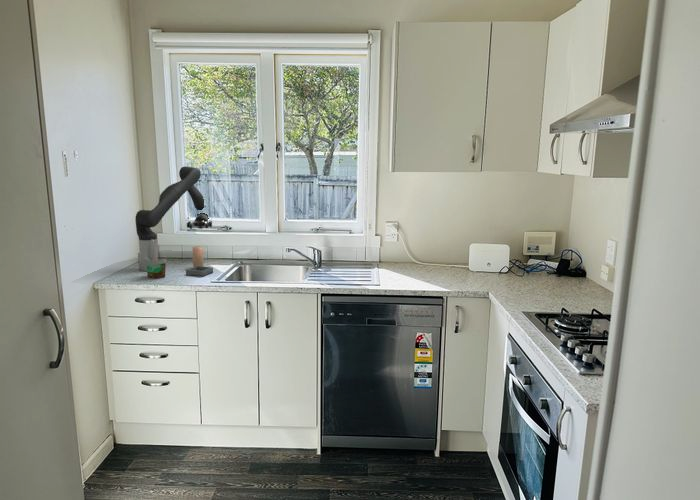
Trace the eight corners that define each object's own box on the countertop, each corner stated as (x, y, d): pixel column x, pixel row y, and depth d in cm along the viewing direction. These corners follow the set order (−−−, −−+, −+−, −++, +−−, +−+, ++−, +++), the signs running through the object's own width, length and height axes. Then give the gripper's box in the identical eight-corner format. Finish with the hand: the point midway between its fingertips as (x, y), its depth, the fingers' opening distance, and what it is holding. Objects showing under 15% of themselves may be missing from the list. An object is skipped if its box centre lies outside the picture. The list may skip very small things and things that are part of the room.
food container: (139, 277, 246) (138, 259, 244) (147, 275, 252) (146, 256, 250) (159, 280, 243) (158, 261, 241) (167, 277, 248) (166, 258, 246)
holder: (186, 275, 254) (185, 269, 254) (197, 271, 264) (197, 265, 263) (202, 276, 251) (202, 271, 251) (213, 272, 261) (213, 267, 260)
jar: (191, 268, 270) (190, 247, 267) (197, 266, 275) (196, 246, 273) (199, 269, 268) (199, 248, 266) (205, 267, 273) (204, 246, 271)
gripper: (188, 215, 289) (185, 221, 274) (212, 215, 292) (210, 220, 277) (189, 227, 291) (186, 233, 276) (213, 226, 294) (211, 232, 279)
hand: (198, 227), depth 276 cm, fingers open, 8 cm apart
